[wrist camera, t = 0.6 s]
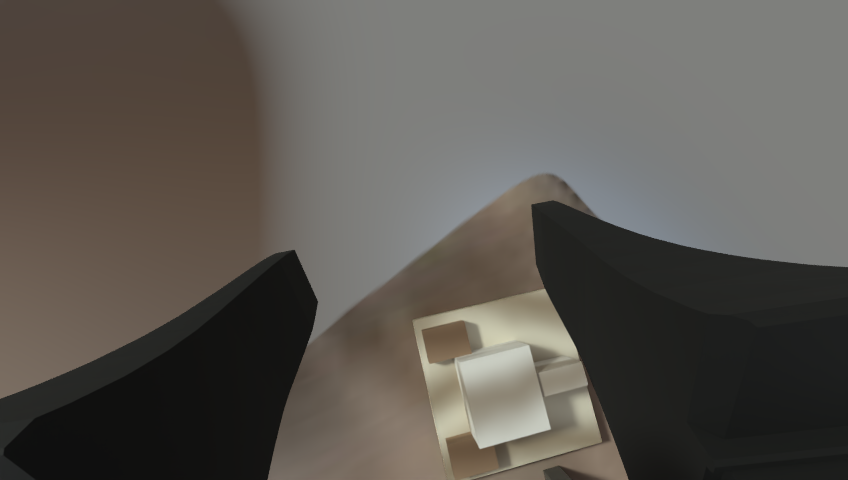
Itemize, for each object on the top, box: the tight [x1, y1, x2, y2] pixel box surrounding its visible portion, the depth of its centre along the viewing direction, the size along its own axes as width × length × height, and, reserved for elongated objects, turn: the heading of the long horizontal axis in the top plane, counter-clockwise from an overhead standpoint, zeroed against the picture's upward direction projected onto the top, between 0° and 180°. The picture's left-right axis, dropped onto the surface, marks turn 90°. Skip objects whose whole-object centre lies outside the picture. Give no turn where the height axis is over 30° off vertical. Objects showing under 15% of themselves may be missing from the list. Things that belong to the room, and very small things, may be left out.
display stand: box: [412, 288, 602, 480], centre depth 34 cm, size 15×15×6 cm
